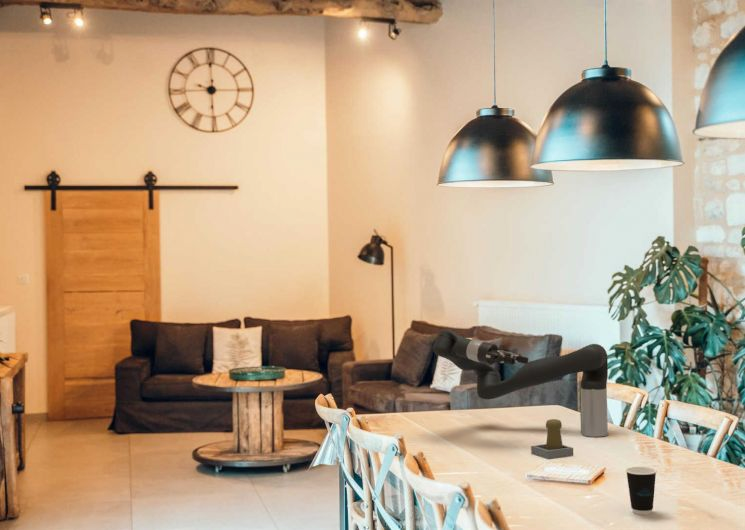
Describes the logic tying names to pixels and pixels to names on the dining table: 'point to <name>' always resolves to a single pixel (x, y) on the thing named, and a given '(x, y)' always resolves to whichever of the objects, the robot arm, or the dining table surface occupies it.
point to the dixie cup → (641, 488)
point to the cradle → (551, 451)
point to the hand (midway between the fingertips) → (521, 361)
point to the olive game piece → (554, 434)
